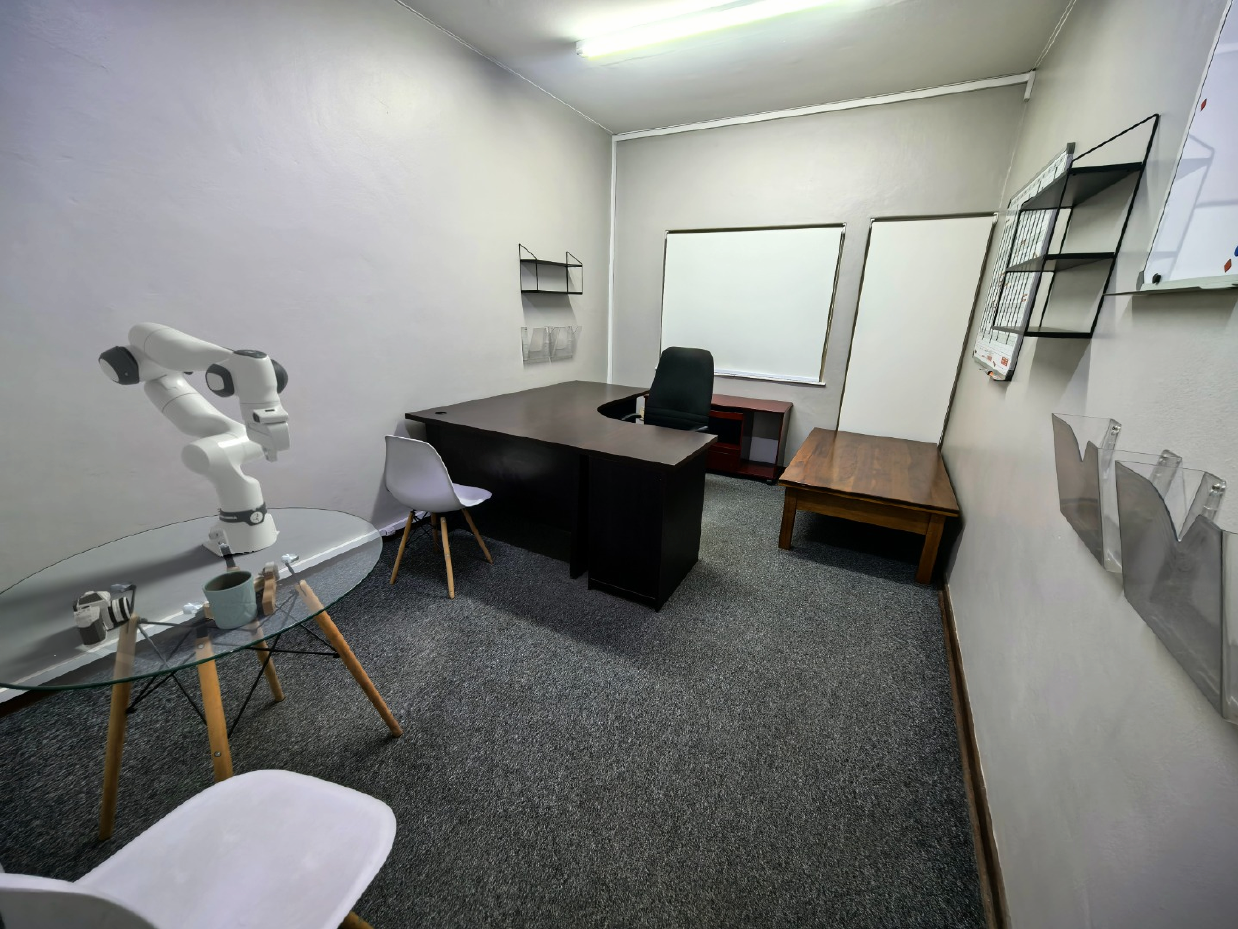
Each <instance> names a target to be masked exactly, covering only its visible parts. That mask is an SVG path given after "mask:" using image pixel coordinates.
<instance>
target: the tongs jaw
mask: <svg viewBox="0 0 1238 929" xmlns="http://www.w3.org/2000/svg"><path fill="white" fill-rule="evenodd" d="M274 565H275V561H269V562H266V563H265V577H266V581H265V587H264V588H263V595H262V600H261V605H262V610H263V614H264V616H269V615H272V614H275V605H276V591H277V581H276V579H275V575H274V574H273V567H274Z"/></svg>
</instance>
